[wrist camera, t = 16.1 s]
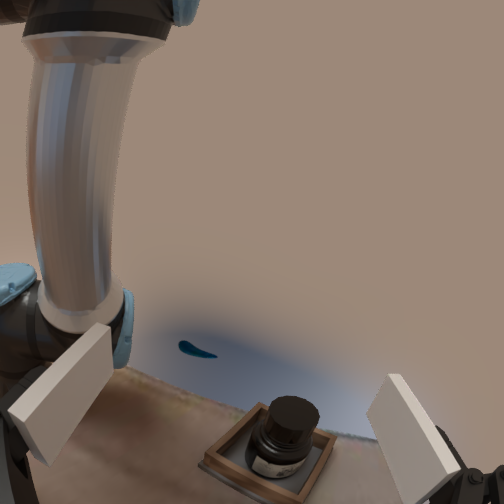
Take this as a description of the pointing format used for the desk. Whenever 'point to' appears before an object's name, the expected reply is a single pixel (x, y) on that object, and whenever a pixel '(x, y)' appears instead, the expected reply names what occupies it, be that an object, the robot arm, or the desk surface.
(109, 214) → the robot arm
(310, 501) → the desk surface
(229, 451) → the tray
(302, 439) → the ink bottle
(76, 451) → the desk surface
